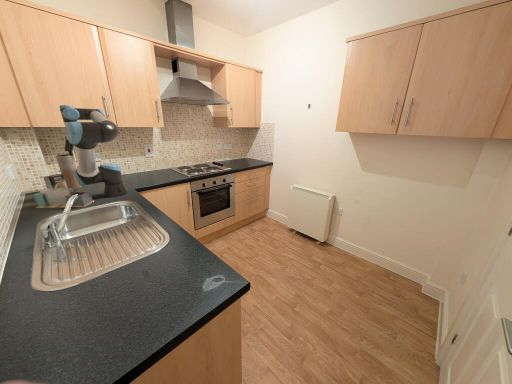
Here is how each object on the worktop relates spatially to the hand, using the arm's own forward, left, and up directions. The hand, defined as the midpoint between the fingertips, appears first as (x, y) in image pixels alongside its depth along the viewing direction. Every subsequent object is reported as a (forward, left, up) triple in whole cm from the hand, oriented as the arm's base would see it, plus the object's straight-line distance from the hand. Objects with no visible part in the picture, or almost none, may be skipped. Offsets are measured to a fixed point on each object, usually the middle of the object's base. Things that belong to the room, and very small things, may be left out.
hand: (81, 158), depth 149 cm
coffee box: (+16, +8, -27) cm, 32 cm away
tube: (+1, +25, -26) cm, 36 cm away
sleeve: (-10, +25, -27) cm, 38 cm away
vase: (+21, -12, -27) cm, 36 cm away
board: (-1, +25, -27) cm, 37 cm away
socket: (+11, +25, -27) cm, 38 cm away
